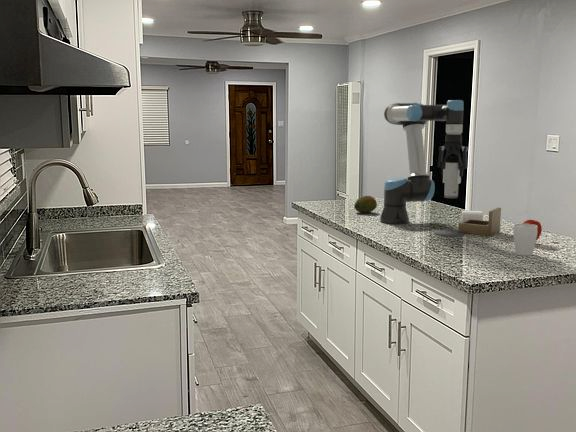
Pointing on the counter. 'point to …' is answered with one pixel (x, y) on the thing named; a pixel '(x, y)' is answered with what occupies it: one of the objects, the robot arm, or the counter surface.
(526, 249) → the cup
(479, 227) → the brown wooden open box
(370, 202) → the fruit
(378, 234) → the counter surface
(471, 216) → the mug
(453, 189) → the travel mug
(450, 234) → the mat
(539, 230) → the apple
